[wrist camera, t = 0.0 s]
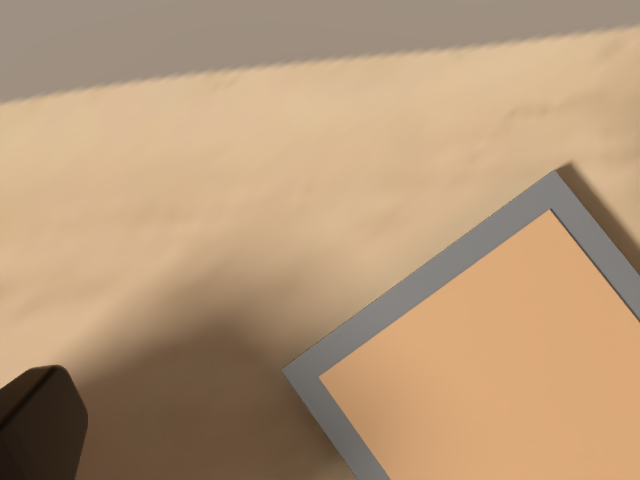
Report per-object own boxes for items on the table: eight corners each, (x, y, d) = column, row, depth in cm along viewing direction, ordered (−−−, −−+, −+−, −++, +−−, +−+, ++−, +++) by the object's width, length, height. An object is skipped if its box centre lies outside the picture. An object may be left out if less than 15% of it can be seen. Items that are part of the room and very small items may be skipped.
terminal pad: (773, 453, 21) (790, 461, 20) (482, 648, 21) (486, 664, 21) (548, 173, 22) (555, 169, 21) (284, 366, 23) (280, 370, 22)
